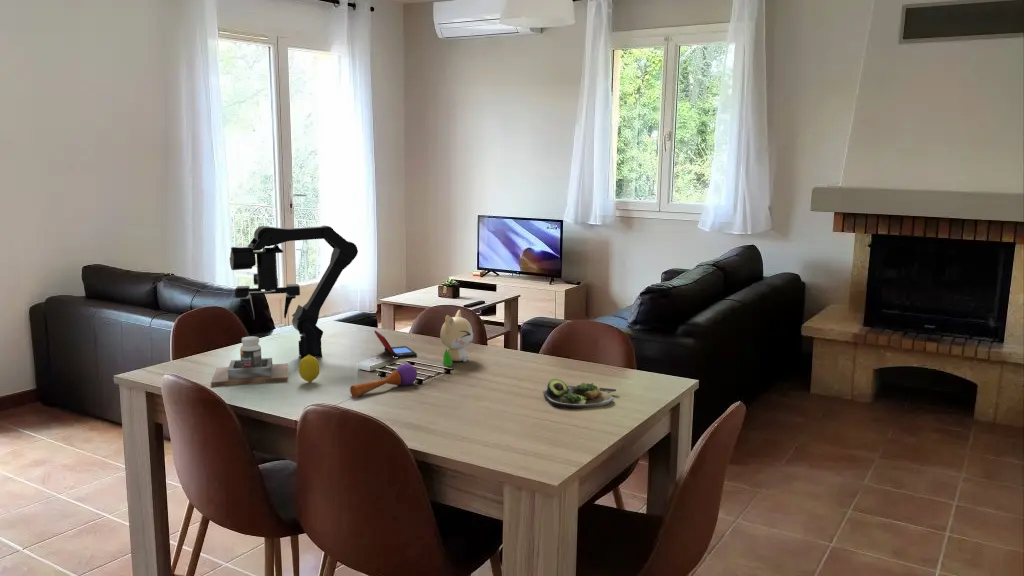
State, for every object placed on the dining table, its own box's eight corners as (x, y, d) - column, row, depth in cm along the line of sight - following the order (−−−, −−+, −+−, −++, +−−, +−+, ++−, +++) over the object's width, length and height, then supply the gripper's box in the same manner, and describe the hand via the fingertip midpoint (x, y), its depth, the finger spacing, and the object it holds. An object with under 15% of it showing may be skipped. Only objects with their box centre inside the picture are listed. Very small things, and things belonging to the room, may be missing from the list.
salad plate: (605, 387, 220) (606, 371, 219) (629, 407, 203) (629, 389, 202) (537, 392, 216) (537, 375, 215) (555, 412, 198) (555, 394, 198)
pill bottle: (236, 373, 228) (235, 339, 226) (250, 368, 233) (248, 335, 232) (253, 375, 226) (251, 341, 224) (266, 370, 231) (264, 336, 230)
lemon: (324, 381, 224) (323, 353, 223) (311, 386, 220) (310, 357, 218) (308, 379, 227) (307, 351, 226) (295, 384, 222) (294, 355, 221)
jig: (287, 367, 240) (287, 355, 239) (287, 381, 225) (286, 368, 224) (216, 371, 235) (216, 359, 234) (211, 386, 219) (210, 373, 219)
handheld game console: (418, 357, 253) (417, 334, 252) (384, 361, 249) (383, 337, 247) (406, 348, 264) (406, 326, 263) (374, 352, 260) (373, 329, 259)
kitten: (462, 368, 239) (462, 318, 237) (431, 365, 242) (430, 316, 240) (480, 356, 253) (480, 309, 251) (451, 354, 256) (450, 307, 254)
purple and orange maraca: (345, 380, 212) (406, 361, 225) (349, 402, 212) (410, 382, 226) (357, 380, 207) (418, 361, 221) (362, 403, 208) (423, 382, 221)
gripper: (298, 263, 254) (300, 312, 256) (236, 265, 249) (238, 315, 251) (298, 268, 243) (301, 319, 245) (233, 270, 238) (236, 322, 241)
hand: (269, 318), depth 246 cm, fingers open, 9 cm apart
